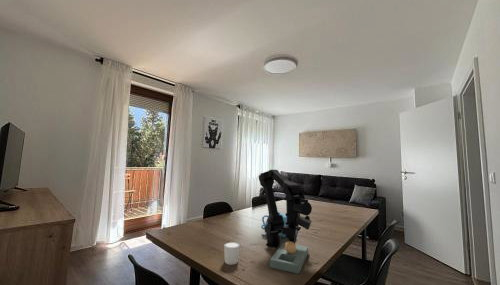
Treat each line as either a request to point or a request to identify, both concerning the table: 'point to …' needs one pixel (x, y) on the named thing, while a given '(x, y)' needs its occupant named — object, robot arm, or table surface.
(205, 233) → the table surface
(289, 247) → the ball
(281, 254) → the deck
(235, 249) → the white cylinder
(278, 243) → the robot arm
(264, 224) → the decorative pot
